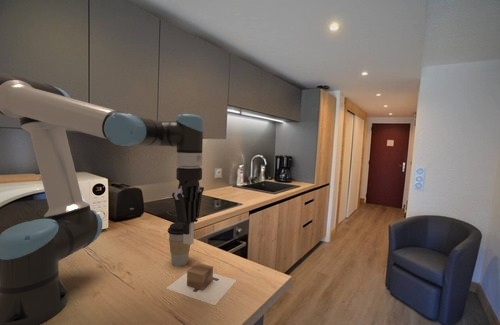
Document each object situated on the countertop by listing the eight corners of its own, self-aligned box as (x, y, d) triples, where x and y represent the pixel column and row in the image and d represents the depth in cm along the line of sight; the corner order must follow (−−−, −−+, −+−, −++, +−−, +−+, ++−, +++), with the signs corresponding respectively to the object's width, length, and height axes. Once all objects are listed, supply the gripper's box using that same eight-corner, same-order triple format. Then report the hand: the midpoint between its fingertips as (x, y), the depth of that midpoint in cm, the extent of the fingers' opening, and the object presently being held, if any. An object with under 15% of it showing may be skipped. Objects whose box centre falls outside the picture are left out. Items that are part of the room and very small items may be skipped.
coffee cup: (166, 270, 84) (166, 230, 83) (168, 258, 93) (168, 221, 92) (192, 267, 87) (193, 228, 86) (192, 256, 96) (192, 220, 95)
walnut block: (202, 290, 73) (202, 275, 72) (186, 285, 75) (187, 270, 75) (212, 280, 78) (213, 266, 78) (198, 276, 81) (198, 262, 80)
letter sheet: (214, 306, 66) (214, 305, 66) (166, 289, 73) (166, 288, 73) (236, 280, 79) (236, 280, 79) (193, 268, 86) (193, 267, 86)
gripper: (186, 169, 62) (185, 254, 64) (211, 166, 74) (210, 237, 76) (164, 167, 65) (163, 249, 66) (191, 164, 77) (190, 233, 79)
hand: (188, 243), depth 71 cm, fingers closed
